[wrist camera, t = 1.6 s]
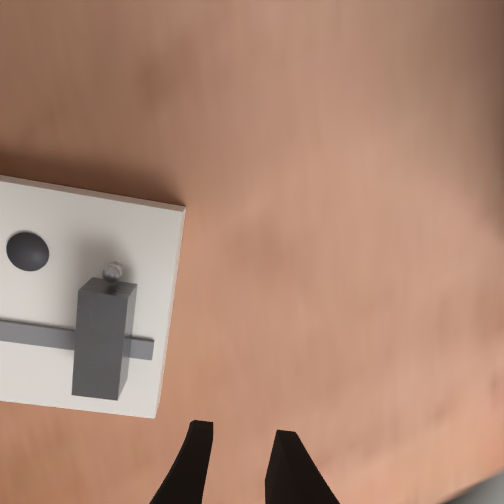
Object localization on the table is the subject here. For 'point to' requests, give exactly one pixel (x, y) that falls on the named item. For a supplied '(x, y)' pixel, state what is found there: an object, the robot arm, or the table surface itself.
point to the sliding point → (103, 335)
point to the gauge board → (72, 279)
